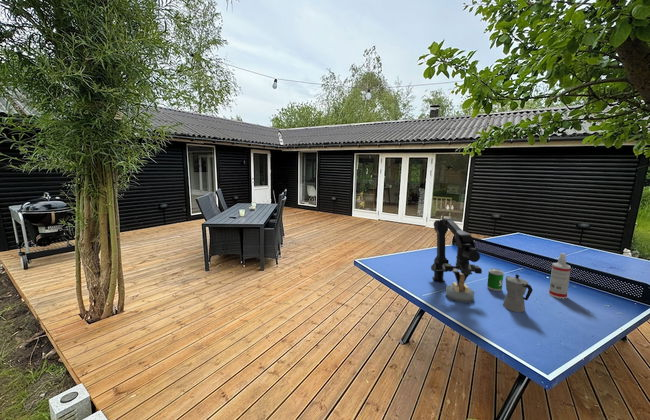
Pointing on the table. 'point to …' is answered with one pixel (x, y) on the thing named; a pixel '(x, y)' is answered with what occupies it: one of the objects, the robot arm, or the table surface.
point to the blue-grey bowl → (459, 293)
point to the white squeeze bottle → (560, 278)
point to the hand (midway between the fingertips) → (460, 283)
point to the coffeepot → (516, 293)
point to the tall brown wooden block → (461, 281)
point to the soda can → (495, 279)
